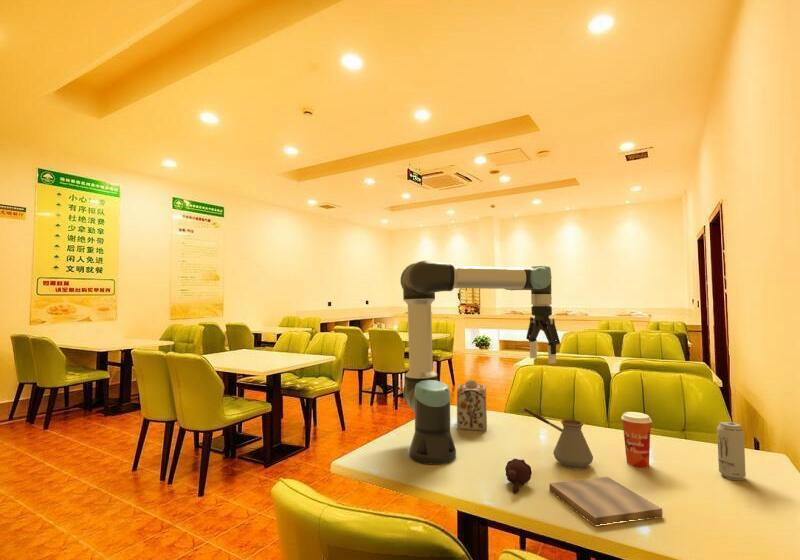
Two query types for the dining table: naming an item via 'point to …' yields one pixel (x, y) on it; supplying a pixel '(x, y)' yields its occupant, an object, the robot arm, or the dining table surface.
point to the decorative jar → (471, 406)
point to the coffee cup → (637, 438)
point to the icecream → (518, 473)
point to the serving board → (604, 500)
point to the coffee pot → (570, 444)
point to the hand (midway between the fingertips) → (542, 360)
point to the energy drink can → (731, 450)
